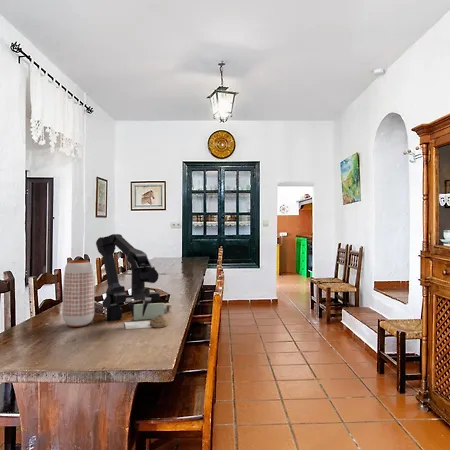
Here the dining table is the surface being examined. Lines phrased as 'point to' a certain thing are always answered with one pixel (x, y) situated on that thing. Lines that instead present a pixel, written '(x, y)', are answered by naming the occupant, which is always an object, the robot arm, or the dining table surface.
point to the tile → (137, 325)
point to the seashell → (159, 321)
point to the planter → (78, 293)
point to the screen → (148, 311)
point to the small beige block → (167, 307)
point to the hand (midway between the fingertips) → (137, 316)
